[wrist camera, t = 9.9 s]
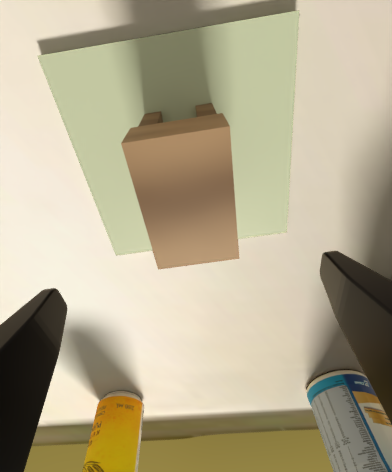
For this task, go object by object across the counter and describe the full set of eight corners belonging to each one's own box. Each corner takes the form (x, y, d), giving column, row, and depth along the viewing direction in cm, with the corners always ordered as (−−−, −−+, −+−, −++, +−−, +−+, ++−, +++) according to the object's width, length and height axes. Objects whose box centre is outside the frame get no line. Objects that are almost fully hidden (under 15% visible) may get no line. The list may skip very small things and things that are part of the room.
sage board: (295, 11, 15) (299, 10, 14) (284, 228, 23) (286, 232, 22) (42, 55, 16) (37, 55, 15) (117, 251, 24) (115, 255, 23)
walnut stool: (224, 202, 21) (239, 258, 15) (164, 210, 21) (158, 269, 16) (214, 98, 17) (229, 126, 11) (140, 110, 17) (121, 143, 12)
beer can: (96, 388, 36) (52, 567, 24) (144, 389, 37) (124, 564, 24) (102, 410, 40) (65, 576, 27) (145, 410, 40) (128, 573, 28)
